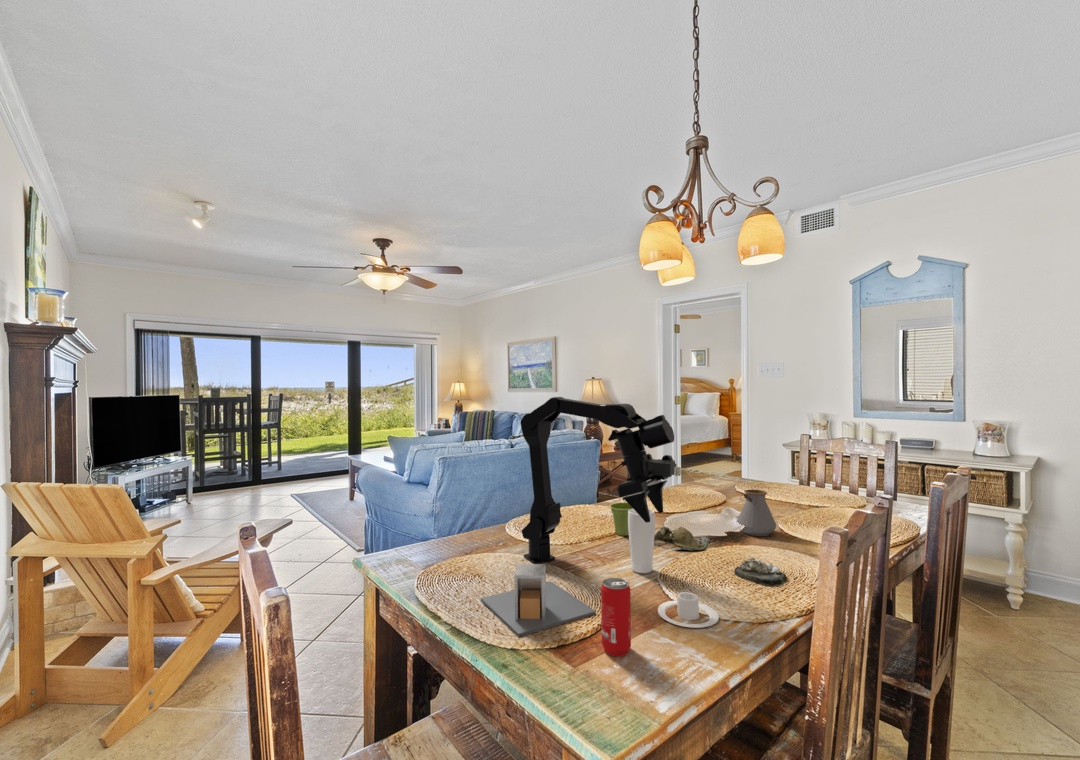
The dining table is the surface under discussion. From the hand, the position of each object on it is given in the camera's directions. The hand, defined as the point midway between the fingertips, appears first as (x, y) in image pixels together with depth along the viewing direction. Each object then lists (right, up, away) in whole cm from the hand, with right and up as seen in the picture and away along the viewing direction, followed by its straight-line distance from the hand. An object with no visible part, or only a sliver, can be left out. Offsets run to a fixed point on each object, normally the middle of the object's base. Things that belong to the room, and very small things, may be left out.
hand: (654, 517), depth 118 cm
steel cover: (-29, -15, -16) cm, 37 cm away
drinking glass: (-1, -16, +8) cm, 18 cm away
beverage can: (-14, -16, -29) cm, 36 cm away
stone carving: (+27, -16, +4) cm, 31 cm away
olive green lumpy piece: (+15, -16, +30) cm, 38 cm away
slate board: (-28, -16, -12) cm, 34 cm away
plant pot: (0, -16, +39) cm, 42 cm away
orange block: (-29, -15, -16) cm, 37 cm away
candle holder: (+3, -16, -16) cm, 23 cm away
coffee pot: (+38, -16, +34) cm, 53 cm away
